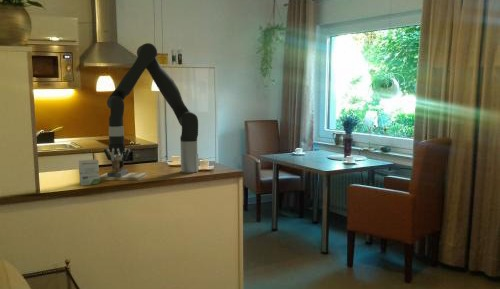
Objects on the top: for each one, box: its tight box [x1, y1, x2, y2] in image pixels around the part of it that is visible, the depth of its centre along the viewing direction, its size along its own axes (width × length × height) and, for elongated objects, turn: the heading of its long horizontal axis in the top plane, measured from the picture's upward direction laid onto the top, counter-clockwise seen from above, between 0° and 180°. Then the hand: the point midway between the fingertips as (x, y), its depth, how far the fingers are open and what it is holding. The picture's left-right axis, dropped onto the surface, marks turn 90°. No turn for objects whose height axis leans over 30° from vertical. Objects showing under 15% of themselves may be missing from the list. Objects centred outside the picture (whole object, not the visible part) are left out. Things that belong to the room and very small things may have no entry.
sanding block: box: [106, 158, 129, 177], centre depth 233 cm, size 7×11×8 cm, turn 177°
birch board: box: [99, 172, 148, 181], centre depth 234 cm, size 22×13×2 cm, turn 86°
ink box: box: [78, 159, 100, 186], centre depth 218 cm, size 8×5×12 cm, turn 119°
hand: (117, 167), depth 233 cm, fingers closed on sanding block, 3 cm apart
